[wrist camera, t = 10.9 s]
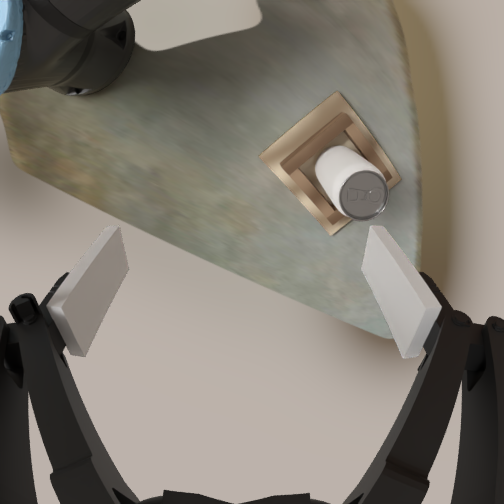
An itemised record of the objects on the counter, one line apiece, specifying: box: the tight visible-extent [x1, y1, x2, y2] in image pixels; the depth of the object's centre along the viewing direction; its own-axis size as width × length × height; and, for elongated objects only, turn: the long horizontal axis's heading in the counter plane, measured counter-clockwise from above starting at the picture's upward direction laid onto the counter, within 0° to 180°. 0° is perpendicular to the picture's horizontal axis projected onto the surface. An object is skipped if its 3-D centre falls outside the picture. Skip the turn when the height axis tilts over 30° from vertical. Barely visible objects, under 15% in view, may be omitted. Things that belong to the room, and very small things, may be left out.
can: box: [315, 145, 389, 221], centre depth 35 cm, size 6×6×12 cm
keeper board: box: [259, 91, 402, 236], centre depth 40 cm, size 16×14×3 cm
